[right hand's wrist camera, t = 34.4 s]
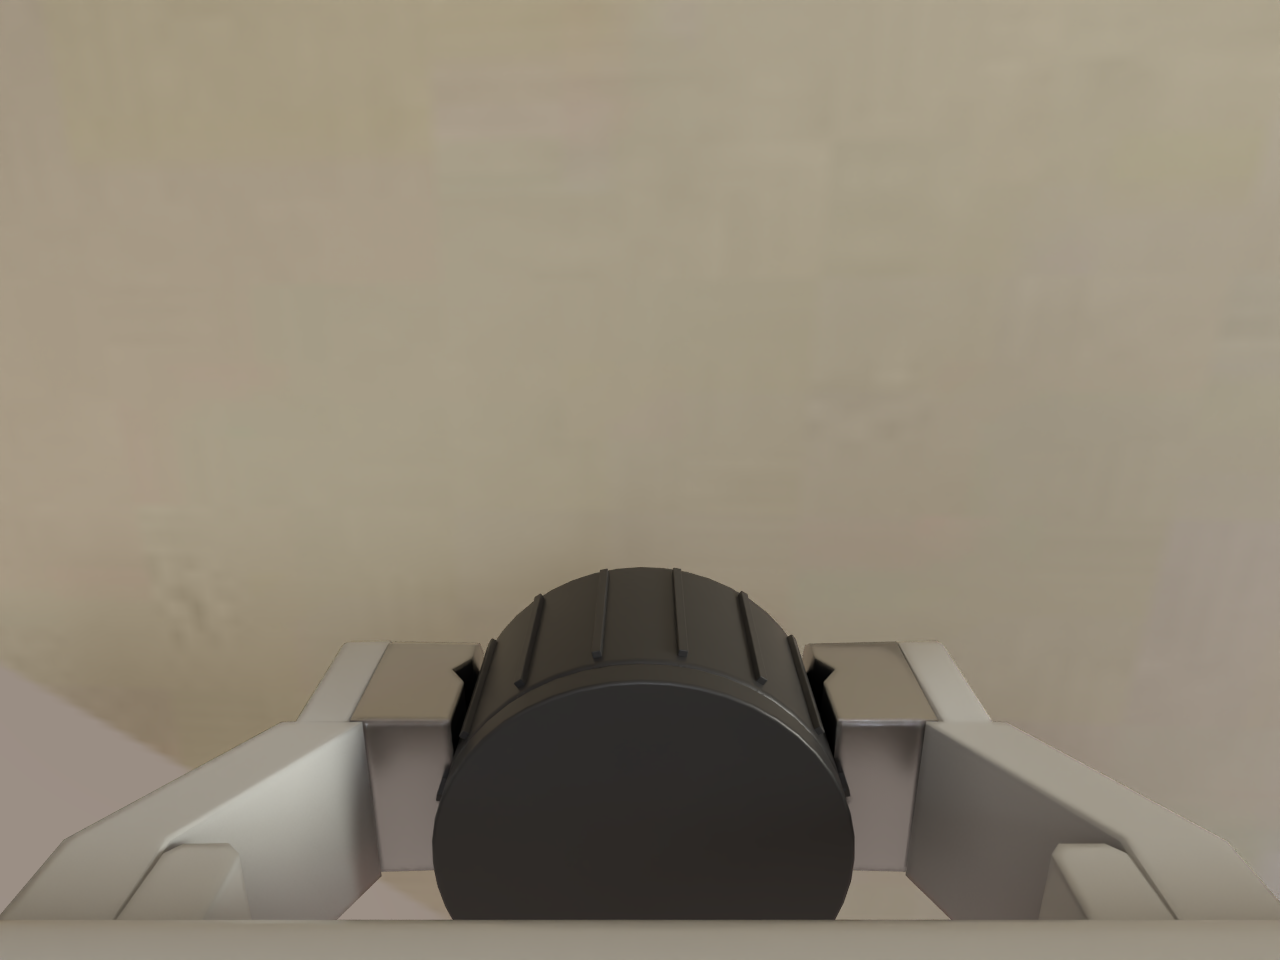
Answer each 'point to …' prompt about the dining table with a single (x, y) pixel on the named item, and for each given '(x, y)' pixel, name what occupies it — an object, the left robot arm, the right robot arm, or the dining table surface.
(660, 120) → the dining table surface
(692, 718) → the cap
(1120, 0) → the dining table surface
